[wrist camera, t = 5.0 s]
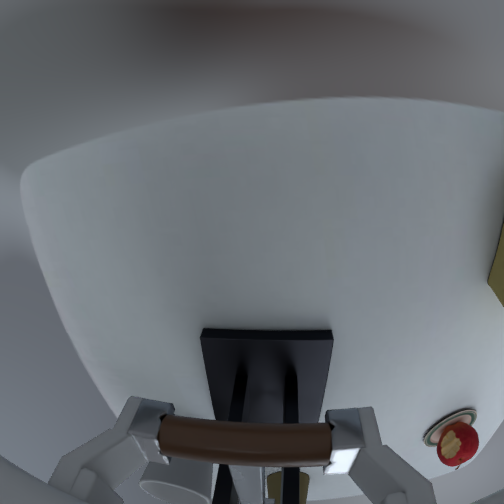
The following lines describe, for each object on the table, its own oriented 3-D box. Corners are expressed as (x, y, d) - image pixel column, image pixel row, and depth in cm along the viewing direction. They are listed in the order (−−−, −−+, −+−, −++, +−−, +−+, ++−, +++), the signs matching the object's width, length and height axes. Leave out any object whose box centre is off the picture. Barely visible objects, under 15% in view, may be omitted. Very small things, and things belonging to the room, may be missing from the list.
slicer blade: (169, 394, 9) (149, 456, 6) (329, 401, 8) (335, 469, 6) (221, 504, 15) (217, 532, 13) (294, 507, 14) (294, 536, 12)
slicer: (203, 328, 23) (142, 502, 9) (331, 329, 22) (362, 514, 9) (218, 417, 28) (191, 544, 14) (316, 419, 27) (321, 551, 13)
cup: (219, 423, 28) (205, 490, 20) (225, 462, 32) (216, 516, 24) (152, 413, 29) (128, 473, 21) (169, 454, 33) (154, 504, 25)
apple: (415, 449, 29) (425, 486, 23) (434, 416, 26) (449, 458, 20) (462, 434, 28) (475, 468, 22) (484, 400, 25) (502, 437, 19)
